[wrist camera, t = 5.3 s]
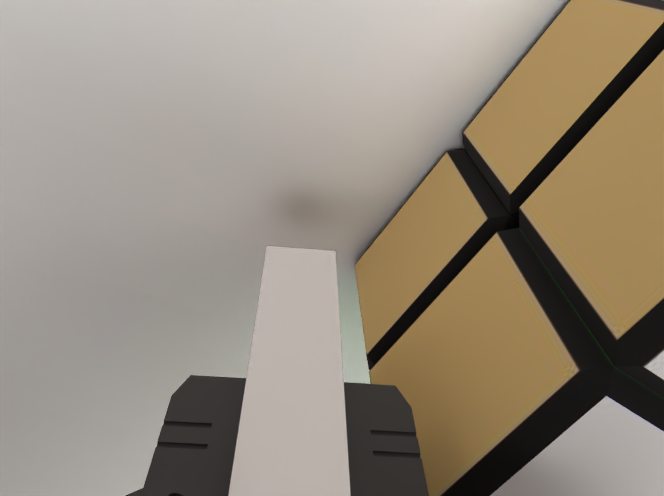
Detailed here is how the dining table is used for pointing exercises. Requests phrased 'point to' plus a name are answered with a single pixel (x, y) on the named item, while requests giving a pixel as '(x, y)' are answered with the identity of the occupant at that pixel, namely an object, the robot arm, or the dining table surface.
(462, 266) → the puzzle cube
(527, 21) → the dining table surface
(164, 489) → the robot arm
